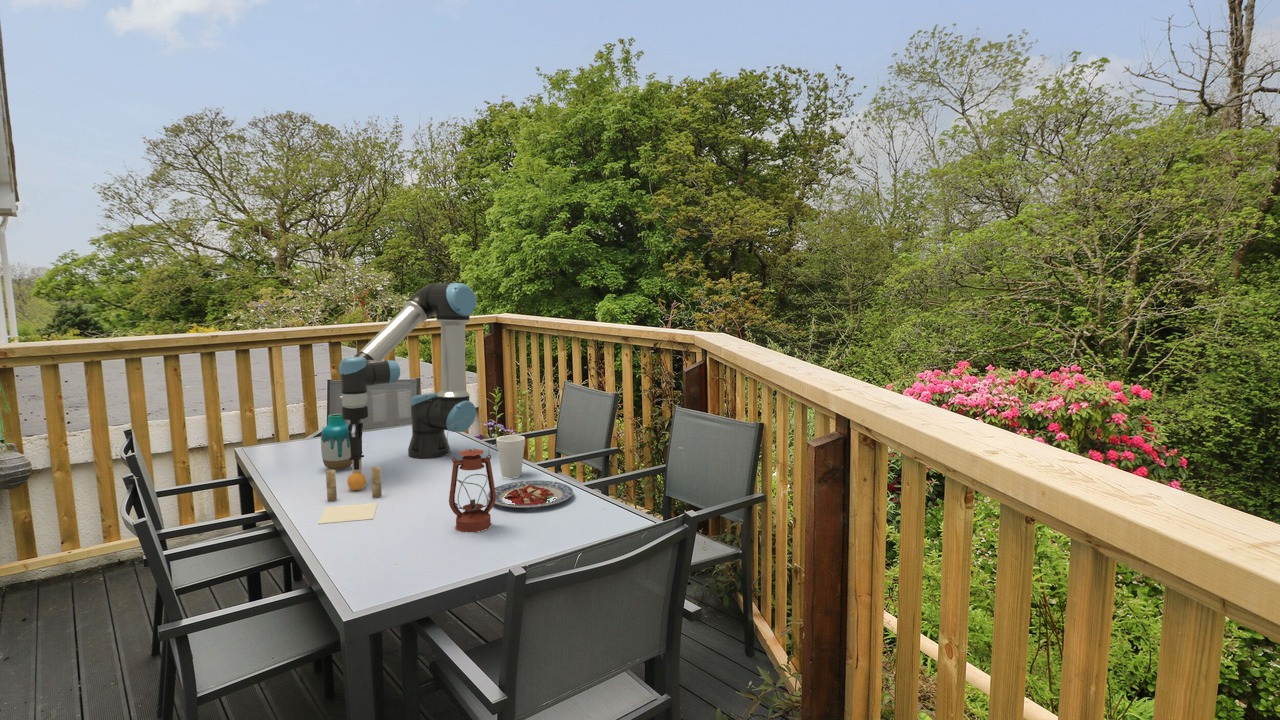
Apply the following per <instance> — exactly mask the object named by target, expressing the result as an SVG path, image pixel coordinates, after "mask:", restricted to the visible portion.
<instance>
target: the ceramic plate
mask: <svg viewBox="0 0 1280 720" xmlns="http://www.w3.org/2000/svg"><path fill="white" fill-rule="evenodd" d="M495 492H496V501H495V503H494V505H498V506H502V507H509V508H518V509H531V508H530V507H537V508H542V507H541V506H543V507H545V506H546V507H548V506H552V505H556V504H560V503H562V502H565V501H566V500H568V499H570V498H571V497H572V496H573V494H574V489H573V488H572V487H571V486H569V485H567V484H566V483H562V482H557V481H552V480H543V479H542V480H541V479H540V480H536V479H535V480H531V479H530V480H521V481H514V482H513V481H512V482H508V483H504V484H500V485H498V486H496V487H495ZM507 493H508V494H507ZM505 494H507V495H506V496H505ZM486 495H487V498H488V502H489V501H490V490H489V491H487V493H486ZM504 496H505V497H504ZM503 497H504V498H505V499H508V500H511V501H512V503H515V505H514V504H507V503H505V502H503V500H502V498H503ZM552 497H557V499H556V498H554V499H556V500H555V501H552V502H550V500H547V499H550V498H552ZM487 498H486V499H487ZM554 499H553V500H554ZM547 501H548V503H546V502H547Z"/></svg>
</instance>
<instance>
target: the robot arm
mask: <svg viewBox="0 0 1280 720" xmlns="http://www.w3.org/2000/svg"><path fill="white" fill-rule="evenodd" d="M403 306H404V307H403V308H402V309H401V310H400V311H399V312H398V313H397V314H396V315H395V316H394V317H393V318H392V319H390V321H389V322H388V323H387V324H386V325H384V327H383V328H382V329H380V330H379V332H378V333H377V334H375V335H374V337H373V338H371V339H370V341H368V342H367V343H366V345H365V346H363V348H362V349H360V350H359V351H358V352H357V353H356V354H355V355H354V356H353V357H351V356H348V357H343V358H342V359H341V361H340V363H339V365H338V373H339V375H340V387H341V388H340V389H341V395H340V396H339V399H340V400H342V401H341V405H342V408H341V414H342V418H343V419H345V420H346V421H348V420H349V422H350V423H349V424H347V425H348V430H349V438H350V450H351V458H349V460H352V464H351V469H352V471H351V472H352V474H353V473H356V472H358V473H362V474H363V462H362V460H363V459H362V458H364V457H365V455H364V454H363V428H364V424H363V423H364V422H361V420H364V419H367V418H368V417H369V409H368V408H369V407H368V403H369V401H368V399H369V398H368V387H369V386H374V385H376V386H377V385H383V384H384V385H385V384H387V385H389V384H391V383H396V382H397V381H398V380H399V379H400V376H401V367H400V366H399V363H398V362H397V361H396V360H394V359H393V360H389V359H386V360H384V359H385V358H386V357H387V356H389V354H390V353H391V352H392V351H393V350H394V349H396V347H397V346H398V345H399V344H400V343H401V342H402V341H404V339H406V337H407V336H408V335H409V334H410V333H411V332H412V331H413V330H414V329H415V328H416V327H417V326H418V325H419V324H420V323H425V322H426V321H427V320H428V319H429V318H430V317H431V318H432V316H436V321H437V322H438V323H439V324H440V390H439V392H431V393H423V394H417V395H414V396H413V397H412V398H411V403H410V408H411V411H410V412H411V429H412V431H411V433H412V435H411V439H410V442H409V444H408V445H409V446H408V449H407V456H409V457H410V458H413V459H432V458H433V457H435V458H439V457H444V456H447V455H449V454H450V453H451V451H450V449H451V447H450V445H449V446H448V444H449V441H448V442H447V439H448V437H447V435H446V433H445V431H448V430H449V431H448V432H452V433H454V432H456V433H461V432H465V431H467V430H469V429H470V427H471V426H472V425H474V422H475V420H476V415H477V409H476V408H477V407H476V406H475V405H474V403H473V402H472V401H470V393H469V392H468V391H467V390H466V325H467V324H468V323H469V322H470V315H472V314H473V313H474V312H475V310H476V307H477V297H476V294H475V292H474V291H473V290H472V288H471V287H470V286H469V285H467V284H466V283H460V282H435V283H434V282H433V283H430V284H427V285H425V286H423V287H422V288H420V289H419V290H417V292H415V293H414V294H413V295H412V296H411V297H409V298H408V299H407V300H406V301H405V302H404V305H403ZM465 417H466V418H465ZM464 418H465V419H464ZM469 418H470V419H469ZM471 419H473V420H471ZM462 420H463V421H462ZM460 421H461V422H460ZM457 422H458V423H457ZM455 423H456V424H455ZM453 424H454V425H453ZM451 425H452V426H451ZM450 426H451V427H450ZM449 428H450V429H449ZM449 447H450V448H449ZM449 452H450V453H449ZM448 453H449V454H448ZM446 454H447V455H446ZM443 455H444V456H443Z"/></svg>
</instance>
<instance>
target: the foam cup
mask: <svg viewBox="0 0 1280 720" xmlns="http://www.w3.org/2000/svg"><path fill="white" fill-rule="evenodd" d="M495 439H496V441H495V442H496V447H497V452H498V460H499V466H500V472H501V477H502V476H503V477H507V478H513V477H518V476H520V475H521V476H522V470H523V462H524V452H525V446H526V438H525V436H522V435H518V434H515V435H514V434H513V435H512V434H511V435H510V434H509V435H507V434H506V435H502V436H499V437H496V438H495ZM521 476H520V477H521ZM503 477H502V478H503ZM507 478H506V479H507ZM518 478H519V477H518ZM513 479H514V478H513Z"/></svg>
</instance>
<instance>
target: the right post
mask: <svg viewBox="0 0 1280 720" xmlns="http://www.w3.org/2000/svg"><path fill="white" fill-rule="evenodd" d="M370 471H371V476H370V477H371V493H372V495H371V497H372V498H373V499H378V498H379V499H380V498H381V497H382V478H381V476H382V475H381V473H382V472H381V467H380V466H373V467H371V470H370Z"/></svg>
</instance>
